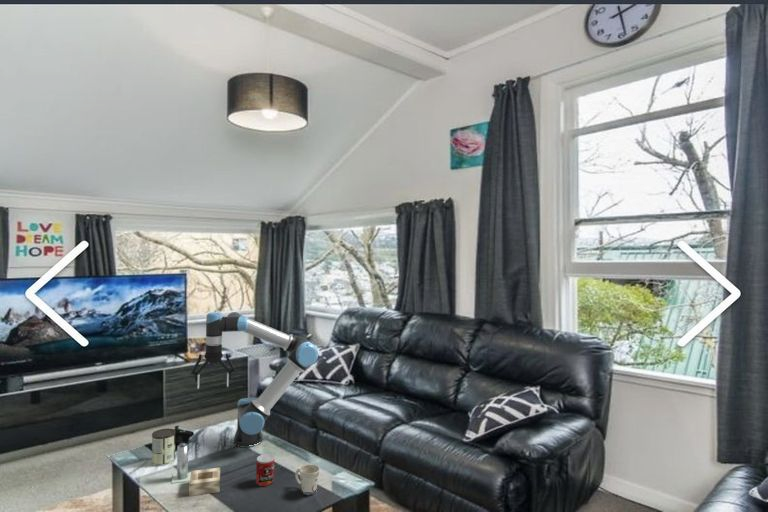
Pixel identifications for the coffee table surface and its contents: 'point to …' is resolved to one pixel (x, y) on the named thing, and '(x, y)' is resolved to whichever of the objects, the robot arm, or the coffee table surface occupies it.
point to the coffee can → (163, 447)
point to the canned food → (265, 469)
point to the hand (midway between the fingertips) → (213, 387)
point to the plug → (182, 461)
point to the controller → (182, 435)
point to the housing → (204, 481)
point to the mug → (308, 477)
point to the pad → (180, 480)
